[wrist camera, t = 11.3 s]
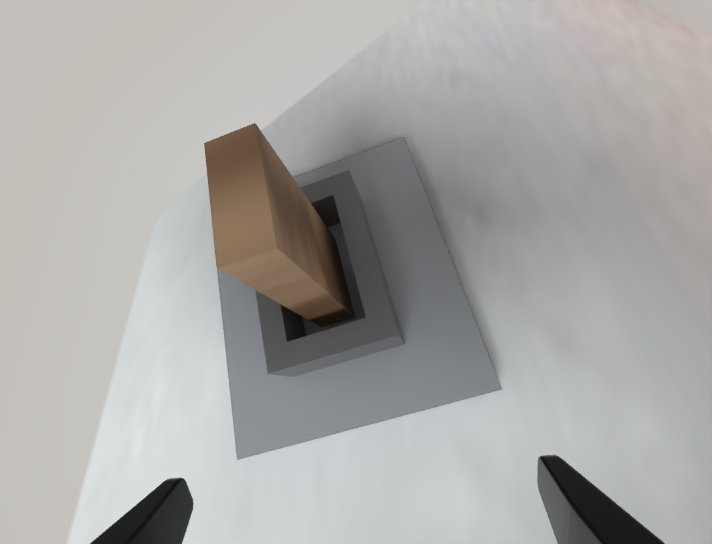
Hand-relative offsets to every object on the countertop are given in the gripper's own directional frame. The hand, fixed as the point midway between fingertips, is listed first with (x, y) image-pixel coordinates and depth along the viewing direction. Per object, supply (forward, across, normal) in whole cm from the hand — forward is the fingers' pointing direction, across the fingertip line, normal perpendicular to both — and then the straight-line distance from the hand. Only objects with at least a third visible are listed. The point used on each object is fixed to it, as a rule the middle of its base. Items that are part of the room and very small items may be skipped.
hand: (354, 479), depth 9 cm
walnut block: (+13, +2, -1) cm, 13 cm away
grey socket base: (+14, +2, 0) cm, 14 cm away
